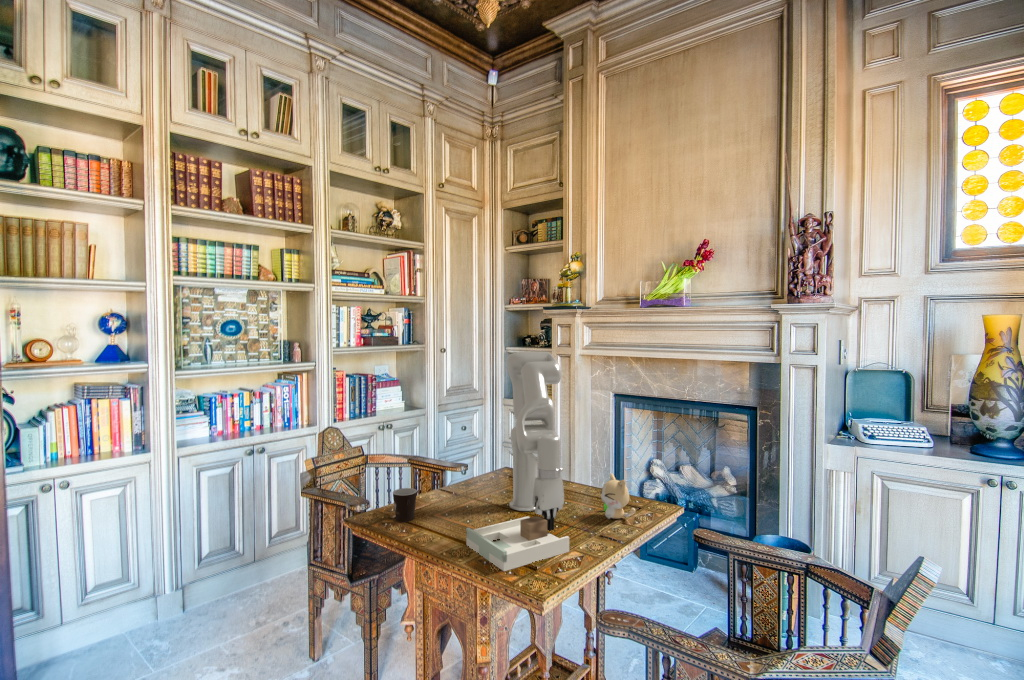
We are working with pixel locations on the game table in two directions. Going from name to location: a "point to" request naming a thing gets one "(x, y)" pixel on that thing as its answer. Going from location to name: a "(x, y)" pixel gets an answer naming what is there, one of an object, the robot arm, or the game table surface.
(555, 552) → the board
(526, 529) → the walnut block
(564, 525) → the game table surface
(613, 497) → the kitten
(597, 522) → the game table surface
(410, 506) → the coffee mug
